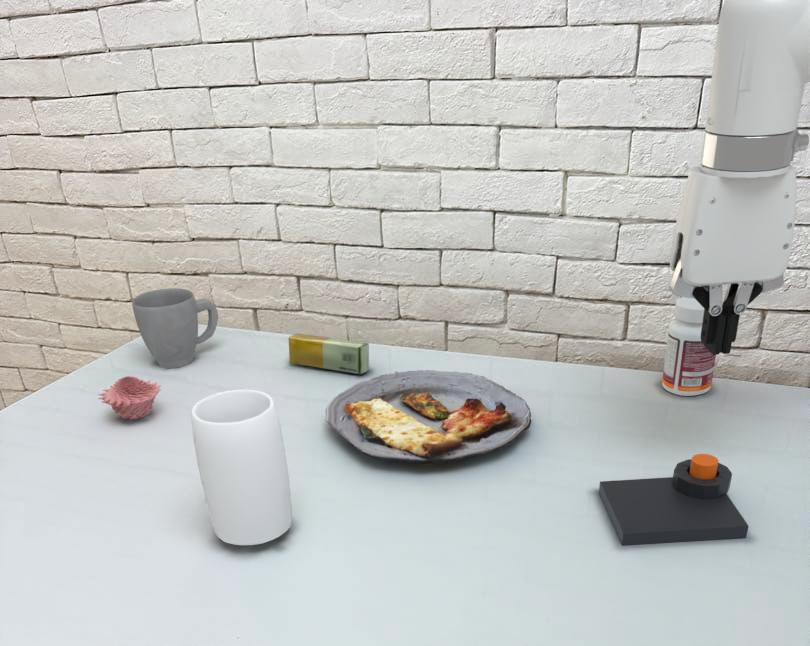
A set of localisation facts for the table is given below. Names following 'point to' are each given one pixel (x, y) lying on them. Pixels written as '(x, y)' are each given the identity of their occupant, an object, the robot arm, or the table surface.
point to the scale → (673, 508)
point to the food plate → (428, 416)
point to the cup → (242, 466)
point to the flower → (131, 397)
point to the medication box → (329, 353)
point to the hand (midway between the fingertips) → (716, 349)
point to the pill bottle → (687, 352)
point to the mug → (172, 324)
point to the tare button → (703, 466)
